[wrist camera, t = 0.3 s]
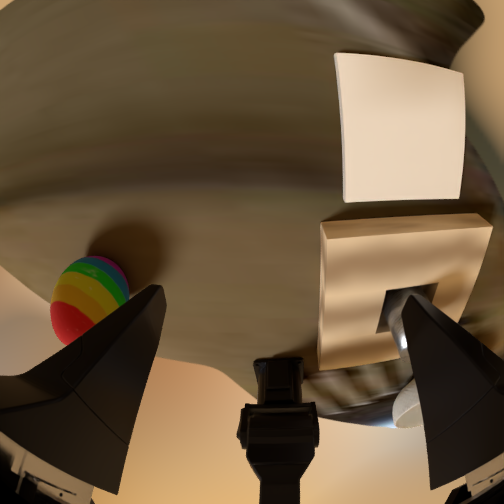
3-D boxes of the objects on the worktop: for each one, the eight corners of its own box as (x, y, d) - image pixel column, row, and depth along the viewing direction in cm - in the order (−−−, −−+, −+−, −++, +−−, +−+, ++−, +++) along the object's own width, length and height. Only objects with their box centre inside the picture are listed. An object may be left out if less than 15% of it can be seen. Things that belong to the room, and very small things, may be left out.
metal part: (411, 304, 28) (436, 356, 21) (374, 309, 28) (394, 366, 21) (421, 269, 25) (453, 322, 18) (380, 275, 26) (408, 333, 19)
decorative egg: (96, 231, 24) (41, 293, 16) (151, 283, 28) (116, 358, 19) (69, 269, 27) (25, 326, 19) (116, 312, 31) (84, 375, 22)
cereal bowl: (448, 335, 31) (465, 372, 25) (476, 358, 35) (488, 385, 29) (369, 393, 39) (376, 427, 33) (412, 403, 43) (419, 430, 37)
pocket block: (437, 330, 30) (445, 346, 28) (316, 351, 32) (319, 370, 30) (476, 213, 21) (492, 226, 18) (320, 222, 23) (327, 239, 20)
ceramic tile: (454, 195, 20) (458, 198, 20) (343, 198, 22) (345, 202, 21) (458, 73, 14) (463, 73, 13) (333, 54, 15) (336, 52, 15)
